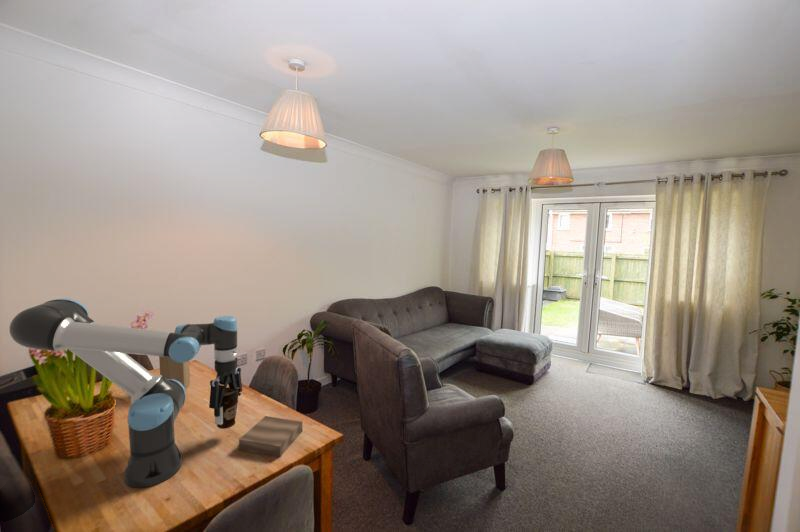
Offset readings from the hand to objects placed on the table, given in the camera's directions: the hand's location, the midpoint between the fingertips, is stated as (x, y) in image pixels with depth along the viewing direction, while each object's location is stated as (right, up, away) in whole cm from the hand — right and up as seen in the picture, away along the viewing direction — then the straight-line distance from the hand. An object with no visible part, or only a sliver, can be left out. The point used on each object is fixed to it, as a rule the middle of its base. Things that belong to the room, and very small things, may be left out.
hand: (226, 417), depth 132 cm
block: (-43, -3, +38) cm, 57 cm away
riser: (+17, -8, -1) cm, 19 cm away
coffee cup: (0, -3, 0) cm, 3 cm away
